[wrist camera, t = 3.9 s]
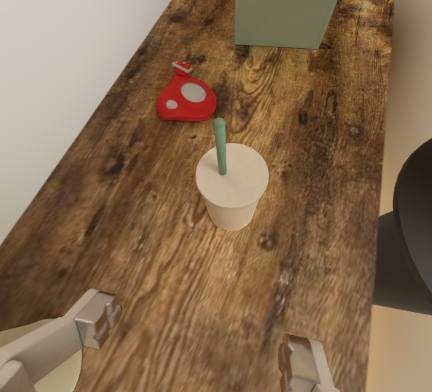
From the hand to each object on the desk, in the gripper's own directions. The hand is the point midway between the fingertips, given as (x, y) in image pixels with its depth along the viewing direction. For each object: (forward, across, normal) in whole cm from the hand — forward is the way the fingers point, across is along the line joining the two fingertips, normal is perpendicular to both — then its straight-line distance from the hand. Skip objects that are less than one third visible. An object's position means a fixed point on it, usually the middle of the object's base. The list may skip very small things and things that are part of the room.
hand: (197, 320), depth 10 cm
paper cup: (+18, 0, +2) cm, 18 cm away
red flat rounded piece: (+30, +10, -10) cm, 34 cm away
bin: (+46, -3, -26) cm, 54 cm away
